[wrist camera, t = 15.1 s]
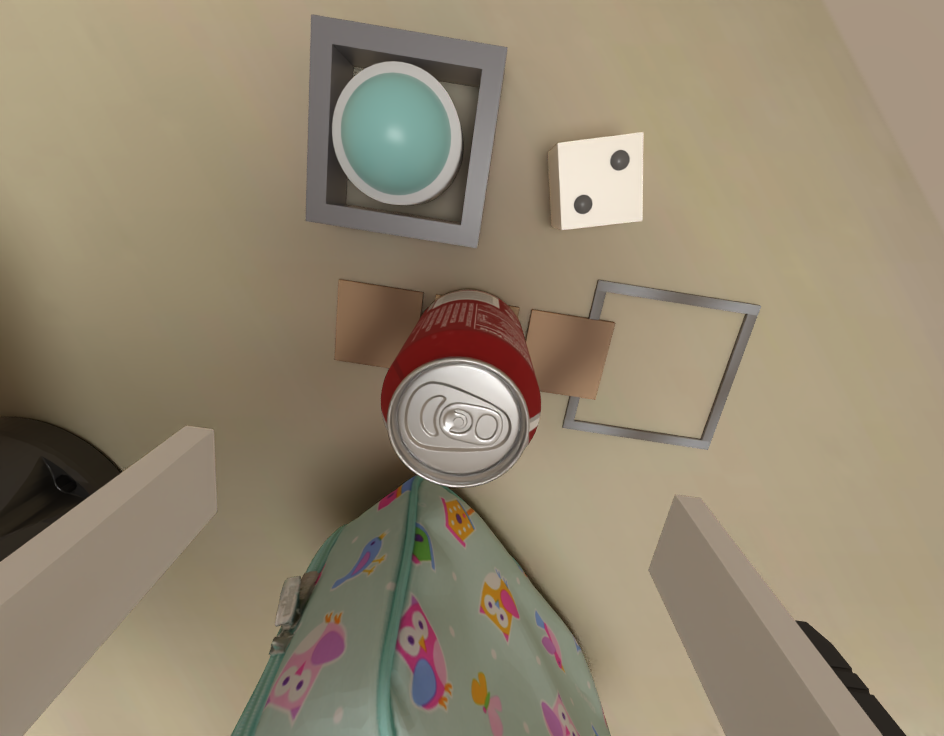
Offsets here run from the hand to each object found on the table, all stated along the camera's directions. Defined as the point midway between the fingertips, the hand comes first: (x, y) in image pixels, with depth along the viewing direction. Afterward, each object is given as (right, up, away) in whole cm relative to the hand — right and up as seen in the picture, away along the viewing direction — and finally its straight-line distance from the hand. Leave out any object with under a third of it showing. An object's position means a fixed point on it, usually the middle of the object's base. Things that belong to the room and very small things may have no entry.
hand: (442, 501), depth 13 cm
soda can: (+1, +6, +16) cm, 17 cm away
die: (+7, +14, +13) cm, 21 cm away
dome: (-3, +16, +11) cm, 19 cm away
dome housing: (-3, +16, +12) cm, 21 cm away
